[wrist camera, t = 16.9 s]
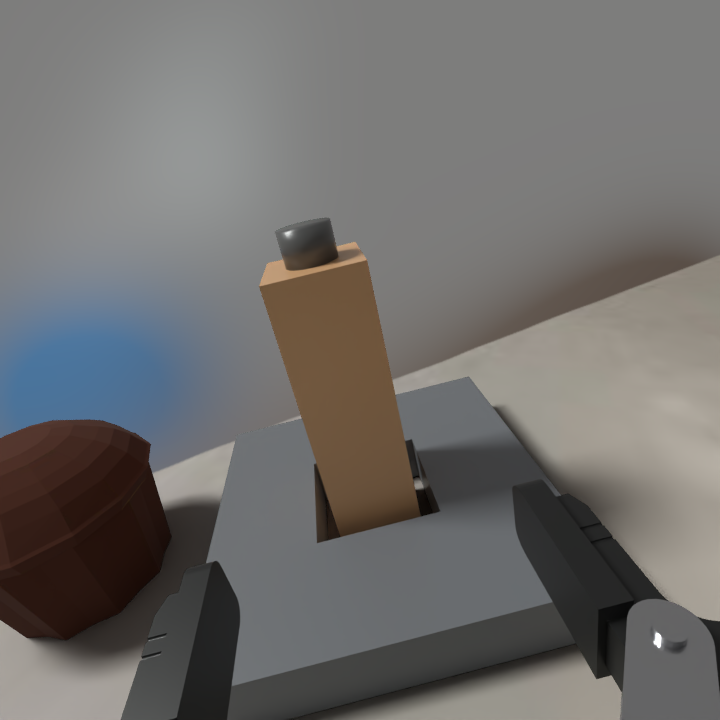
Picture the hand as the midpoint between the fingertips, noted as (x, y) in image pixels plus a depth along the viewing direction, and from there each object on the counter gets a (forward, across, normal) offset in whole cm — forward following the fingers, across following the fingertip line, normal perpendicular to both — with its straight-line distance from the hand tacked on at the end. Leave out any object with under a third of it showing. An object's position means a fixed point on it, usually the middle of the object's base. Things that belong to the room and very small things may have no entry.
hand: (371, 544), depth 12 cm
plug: (+11, 0, +11) cm, 15 cm away
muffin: (+13, +18, +11) cm, 25 cm away
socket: (+11, 0, +10) cm, 15 cm away
